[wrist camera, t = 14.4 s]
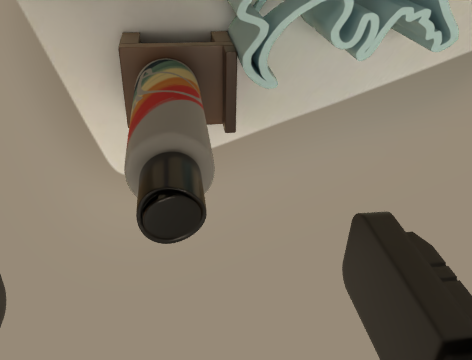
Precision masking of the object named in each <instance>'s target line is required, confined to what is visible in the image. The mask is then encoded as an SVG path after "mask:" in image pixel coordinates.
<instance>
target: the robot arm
mask: <svg viewBox="0 0 472 360" xmlns="http://www.w3.org/2000/svg"><path fill="white" fill-rule="evenodd" d="M342 268H343V269H342V270H343V280H344V284H345V287H346V289H347V292H348V294H349V296H350V298H351V300H352V302H353V304H354V306H355V308H356V310H357V312H358V314H359V317H360V319H361V321H362V323H363V325H364V327H365V329H366V331H367V333H368V335H369V337H370V339H371V341H372V343H373V345H374V348H375V350H376V352H377V354H378V356H379V358H380V360H472V296H471V294H470V293H469V292H468V290H467V289H466V288H465V287H464V285H463V284H462V283H461V282H460V281H457V276H456V275H455V274H454V273H453V271H452V270H451V269H450V268H449V266H446V263H445V261H444V260H443V259H442V258H441V256H440V255H439V254H438V252H437V251H436V250H435V249H434V247H433V246H432V245H430V244H429V243H428V242H426V241H425V240H423V239H422V238H420V237H419V236H418V235H416V234H415V233H413V232H405V231H404V229H403V228H402V227H401V226H400V224H399V223H398V221H397V220H396V219H395V217H394V216H393V215H392V214H391V213H390V212H376V213H375V212H374V213H358V214H356V215H355V216H354V217H353V219H352V223H351V228H350V232H349V237H348V241H347V246H346V250H345V255H344V260H343V267H342ZM5 310H6V292H5V287H4V284H3V281H2V278H1V275H0V327H1V324H2V321H3V318H4V315H5Z"/></svg>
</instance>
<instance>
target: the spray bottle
mask: <svg viewBox="0 0 472 360" xmlns="http://www.w3.org/2000/svg"><path fill="white" fill-rule="evenodd" d="M125 177H126V181H127V184H128V186H129V188H130V190H131V191H132V192H133V194H134V195H135V196H136V197H137V198H138V200H137V215H136V216H137V222H138V226H139V228H140V230H141V232H142V233H143V234H144V235H145V236H146V237H147V238H148V239H150V240H152V241H154V242H157V243H162V244H170V243H176V242H179V241H182V240H184V239H186V238H188V237H190V236H191V235H193V234H194V233H196V232H197V231H198V230H199V229H200V227H201V226H202V225H203V223H204V221H205V219H206V204H205V197H204V194H205V193H206V192H207V191H208V189H209V188H210V186H211V184H212V181H213V178H214V160H213V154H212V149H211V144H210V139H209V134H208V129H207V124H206V119H205V114H204V110H203V105H202V100H201V95H200V90H199V86H198V82H197V79H196V77H195V75H194V73H193V72H192V71H191V70H190V68H189V67H187V66H186V65H185V64H183V63H182V62H180V61H177V60H174V59H168V58H164V59H158V60H155V61H152V62H150V63H149V64H147V65H146V66H145V67H144V68H143V69H142V70H141V72H140V73H139V75H138V77H137V80H136V84H135V89H134V96H133V104H132V111H131V119H130V127H129V134H128V142H127V149H126V158H125Z"/></svg>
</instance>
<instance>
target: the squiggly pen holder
mask: <svg viewBox="0 0 472 360" xmlns="http://www.w3.org/2000/svg"><path fill="white" fill-rule="evenodd" d="M227 1H228V2H229V4H230V5H231V7H232V8H233V10H234V11H235V13H236V15H237V16H236V17H235V18H234V20H233V21H232V23H231V24H230V26H229V28H228V34H229V37H230V39H231V41H232V42H233V44H234V47H235V49H236V51H237V56H238V58H239V60H240V62H241V64H242V67H243V69H244V71H245V73H246V74H247V76H248V77H249V78H250V79H251V80H252V81H254V82H255V83H256V84H258V85H259V86H261V87H264V88H267V89H269V88H276V87H277V86H278V81H277V79H276V78H275V76H274V74H273V73H272V71H271V70H270V68H269V67H268V65H267V58H268V55H269V52H270V49H271V47H272V45H273V44H274V42H275V41H276V39H277V38H278V37H279V35H280V34H281V33H282V32H283V30H284V29H285V28H286V27H287V26H288V25H289V24H290V23H291V22H292V21H293V20H295V19H296V18H297V17H298V16H300V15H301V16H302V17H303V19H304V20H305V21H306V22H307V23H308V24H309V25H311V26H312V27H314V28H315V29H316V31H317V32H319V33H320V34H321V35H322V36H323V37H324V38H326V39H327V40H328V41H329V42H330V43H331V44H333V45H334V46H335V47H336V48H339V49H345V50H346V51H347V52H348V53H350V54H351V55H352V56H353V57H354V58H356V59H357V60H358V61H363V60H365V59H367V58H368V57H370V56H371V55H372V54H373V52H374V51H375V50H376V48H377V47H378V45H379V44H380V42H381V41H382V40H383V38H384V37H385V35H386V34H387V32H388V31H389V30H390V28H392V29H393V30H395V31H397V32H399V33H400V34H402V35H404V36H406V37H407V38H409V39H411V40H413V41H414V42H416V43H418V44H420V45H421V46H423V47H425V48H427V49H428V50H430V51H432V52H440V51H442V50H445V49H446V48H448V47H450V46H451V45H452V44H454V43H455V42H456V41H457V40H458V35H459V29H458V25H457V23H456V21H455V19H454V17H453V14H452V12H451V9H450V6H449V2H448V0H285V1H284V2H282V3H281V4H280V5H278V6H277V7H276V8H274V9H273V10H272V11H270V12H269V13H268V14H267V15H266V16H264V17H262V16H261V15H260V14H259V11H260V9H261V7H262V6H263V4H264V3H265V2H266V1H267V0H258V1H257V2H256V4H255V5H254V6H252V5H251V2H252V1H253V0H227Z"/></svg>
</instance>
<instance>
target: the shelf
mask: <svg viewBox="0 0 472 360" xmlns="http://www.w3.org/2000/svg"><path fill="white" fill-rule="evenodd" d="M119 57H120V65H121V73H122V82H123V90H124V98H125V107H126V115H127V124H128V128H129V127H130V119H131V111H132V104H133V96H134V89H135V84H136V80H137V77H138V75H139V73H140V72H141V70H142V69H143V68H144V67H145V66H146V65H147V64H149V63H150V62H152V61H155V60H158V59H164V58H168V59H174V60H177V61H180V62H182V63H183V64H185V65H186V66H187V67H189V68H190V70H191V71H192V72H193V73H194V75H195V77H196V79H197V82H198V86H199V90H200V95H201V100H202V105H203V110H204V114H205V119H206V124H207V125H208V124H223V126H224V130H225V133H234V132H236V90H237V51H236V49H235V47H234V44H233V42H232V41H231V39H230V37H229V34H228V32H227V31H212V32H211V42H192V43H141V42H140V33H139V32H136V33H122V37H121V41H120V44H119Z"/></svg>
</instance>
